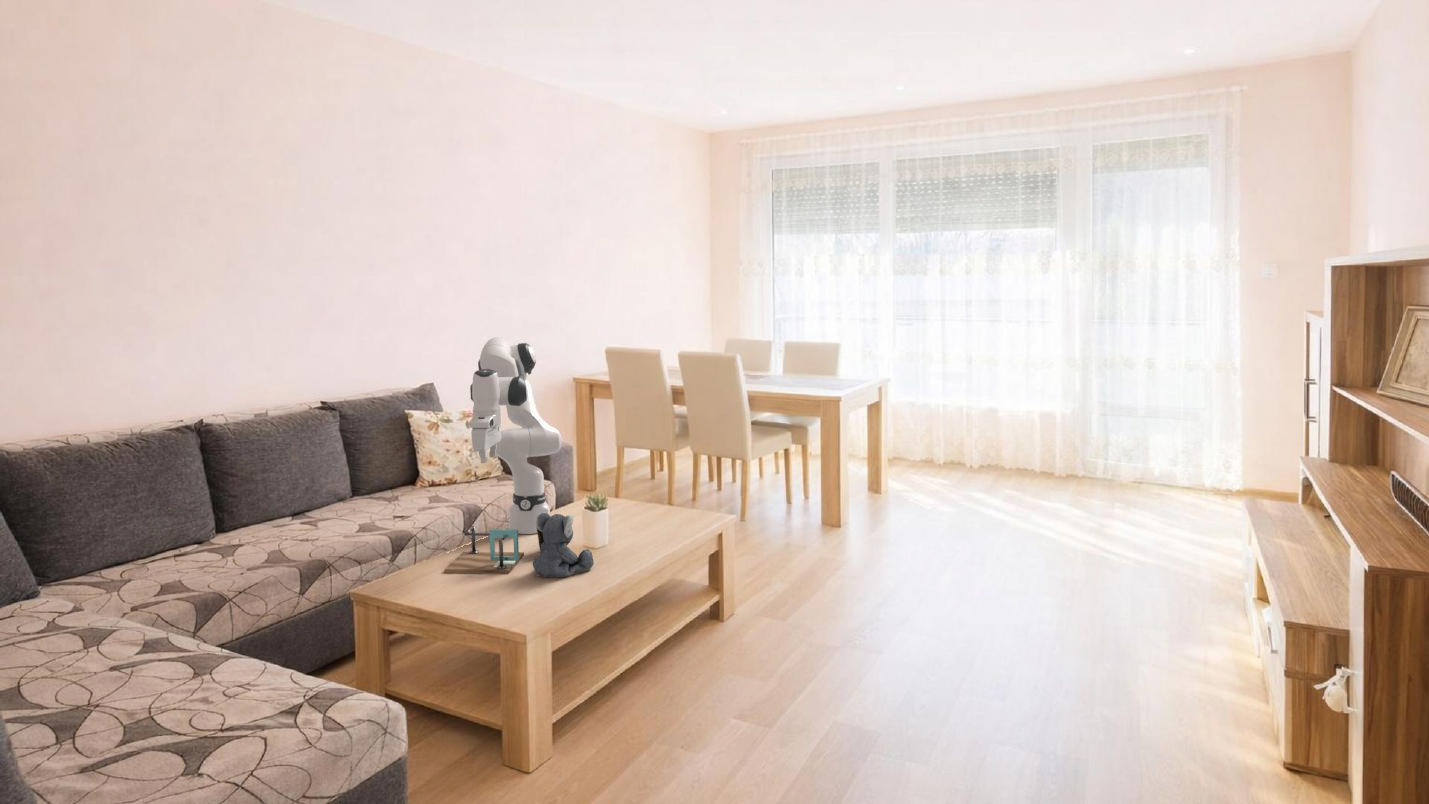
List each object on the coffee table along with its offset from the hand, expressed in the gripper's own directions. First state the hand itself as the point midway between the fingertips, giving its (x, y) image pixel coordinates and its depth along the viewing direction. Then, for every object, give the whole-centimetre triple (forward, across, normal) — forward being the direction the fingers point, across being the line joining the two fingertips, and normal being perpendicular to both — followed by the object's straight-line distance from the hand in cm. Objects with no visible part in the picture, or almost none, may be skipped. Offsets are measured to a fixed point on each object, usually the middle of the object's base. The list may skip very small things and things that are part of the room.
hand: (488, 459), depth 285 cm
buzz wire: (+33, +5, 0) cm, 33 cm away
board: (+34, +5, -1) cm, 34 cm away
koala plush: (+34, +11, +25) cm, 44 cm away
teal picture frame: (+32, +9, +7) cm, 33 cm away
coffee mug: (+34, -10, +18) cm, 40 cm away
